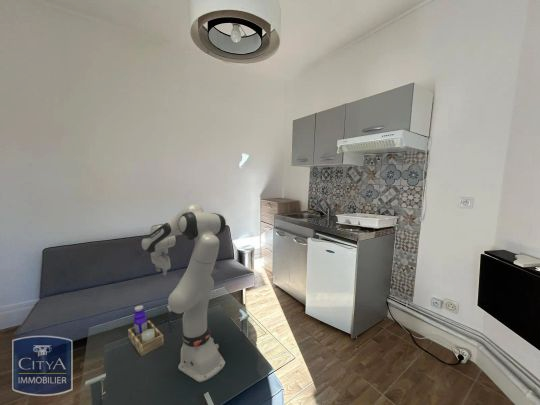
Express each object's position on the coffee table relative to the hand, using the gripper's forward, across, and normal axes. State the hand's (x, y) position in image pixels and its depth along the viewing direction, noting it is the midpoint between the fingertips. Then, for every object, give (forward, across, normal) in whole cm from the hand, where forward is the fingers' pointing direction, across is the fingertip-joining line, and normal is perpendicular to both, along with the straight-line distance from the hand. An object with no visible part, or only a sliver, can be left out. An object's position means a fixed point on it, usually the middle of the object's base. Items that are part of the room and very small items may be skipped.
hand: (161, 273), depth 140 cm
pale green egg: (+30, -16, +15) cm, 37 cm away
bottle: (+30, -6, +15) cm, 34 cm away
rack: (+31, -11, +15) cm, 36 cm away
